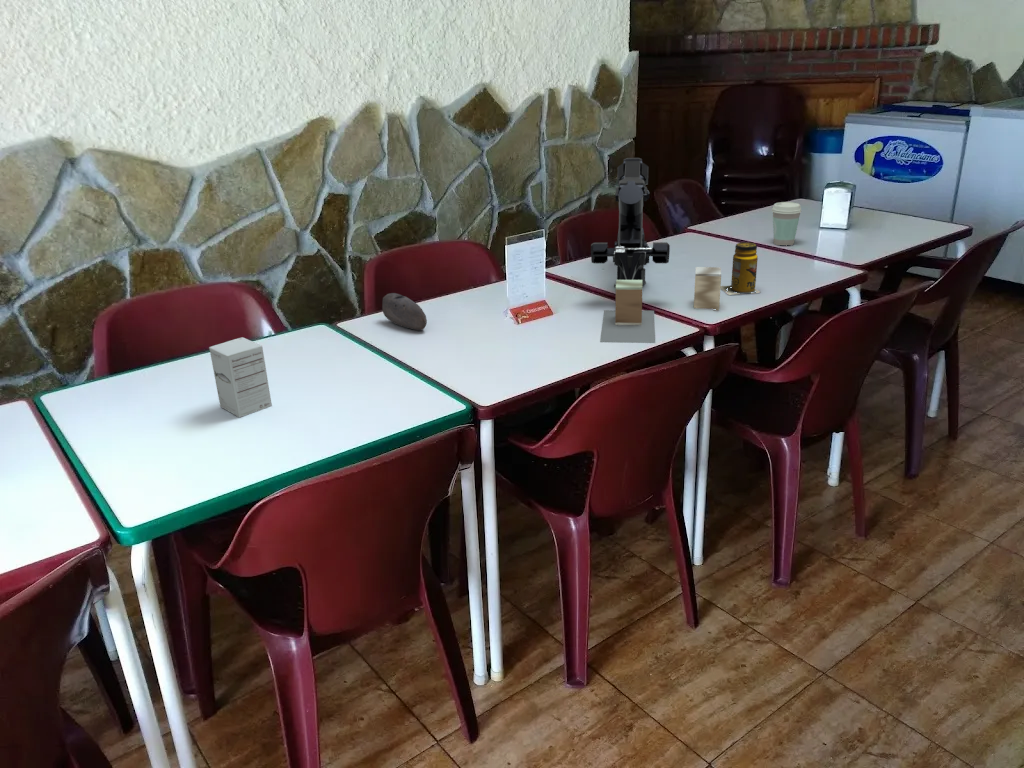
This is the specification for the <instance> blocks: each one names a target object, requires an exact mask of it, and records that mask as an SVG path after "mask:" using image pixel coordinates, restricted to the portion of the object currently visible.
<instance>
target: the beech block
mask: <svg viewBox="0 0 1024 768" xmlns="http://www.w3.org/2000/svg"><path fill="white" fill-rule="evenodd" d="M694 275H695V277H694V294H693V296H694V297H693V298H694V299H693V309H708V310H709V309H710V310H711V309H712V310H713V309H716V310H715V311H720V304H721V286H722V284H721V283H722V267H720V266H719V267H717V266H716V267H714V266H713V267H711V266H709V267H708V266H695V273H694Z"/></svg>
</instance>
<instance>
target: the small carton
mask: <svg viewBox="0 0 1024 768" xmlns="http://www.w3.org/2000/svg"><path fill="white" fill-rule="evenodd" d="M615 284H616V287H615V310H616V311H615V325H642V311H643V286H642V280H617V279H616V280H615Z"/></svg>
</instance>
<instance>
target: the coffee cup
mask: <svg viewBox="0 0 1024 768" xmlns="http://www.w3.org/2000/svg"><path fill="white" fill-rule="evenodd" d="M772 206H773V207H772V208H771V212H772V228H773V230H772V232H773V244H774V245H775V244H776V245H775V246H778V245H786V246H785V247H788V246H787V245H791V246H793V245H794V244H795V239H796V235H797V230H798V225H799V221H800V215H801V213H802V207H801V204H800V203H798V202H792V201H781V202H776V203H774V204H773V205H772Z"/></svg>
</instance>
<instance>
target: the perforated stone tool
mask: <svg viewBox="0 0 1024 768" xmlns="http://www.w3.org/2000/svg"><path fill="white" fill-rule="evenodd" d="M382 313H383V315H384V317H385V318H386V319H388V320H389V321H391V322H392V323H393V324H395V325H397V326H400V327H403V328H407V329H411V330H414V331H416V330H417V331H421V330H424V329H425V328H426V326H427V323H428V322H427V321H428V320H427V315H426V314H425V312H424V310H423V308H422V307H421V306H420V305H419V304H418V303H416V302H414V300H412V299H410V298H409V297H407V296H406V295H405V296H404V295H402V294H400V293H396V292H391V293H390V292H389V293H386V295H384V296H383V297H382Z"/></svg>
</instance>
